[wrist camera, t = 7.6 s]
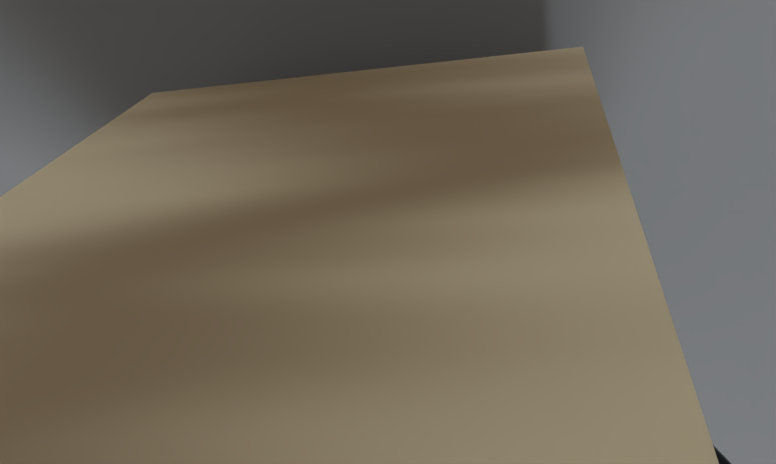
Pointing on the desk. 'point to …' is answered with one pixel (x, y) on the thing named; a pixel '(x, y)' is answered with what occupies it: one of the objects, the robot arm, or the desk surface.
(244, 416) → the tall block
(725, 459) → the robot arm
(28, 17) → the rubber mat
